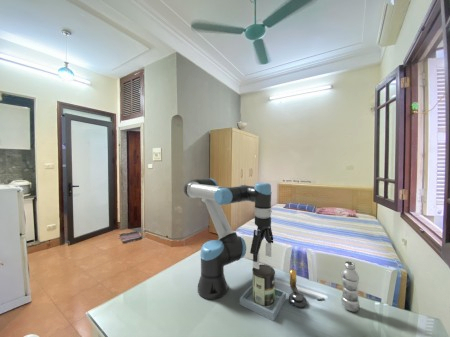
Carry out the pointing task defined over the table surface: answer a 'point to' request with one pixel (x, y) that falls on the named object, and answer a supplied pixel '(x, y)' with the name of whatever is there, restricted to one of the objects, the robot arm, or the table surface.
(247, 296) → the tray
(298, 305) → the crank base
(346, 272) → the plastic bottle
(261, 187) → the robot arm
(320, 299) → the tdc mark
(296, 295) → the crank
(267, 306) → the coffee can
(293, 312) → the table surface
